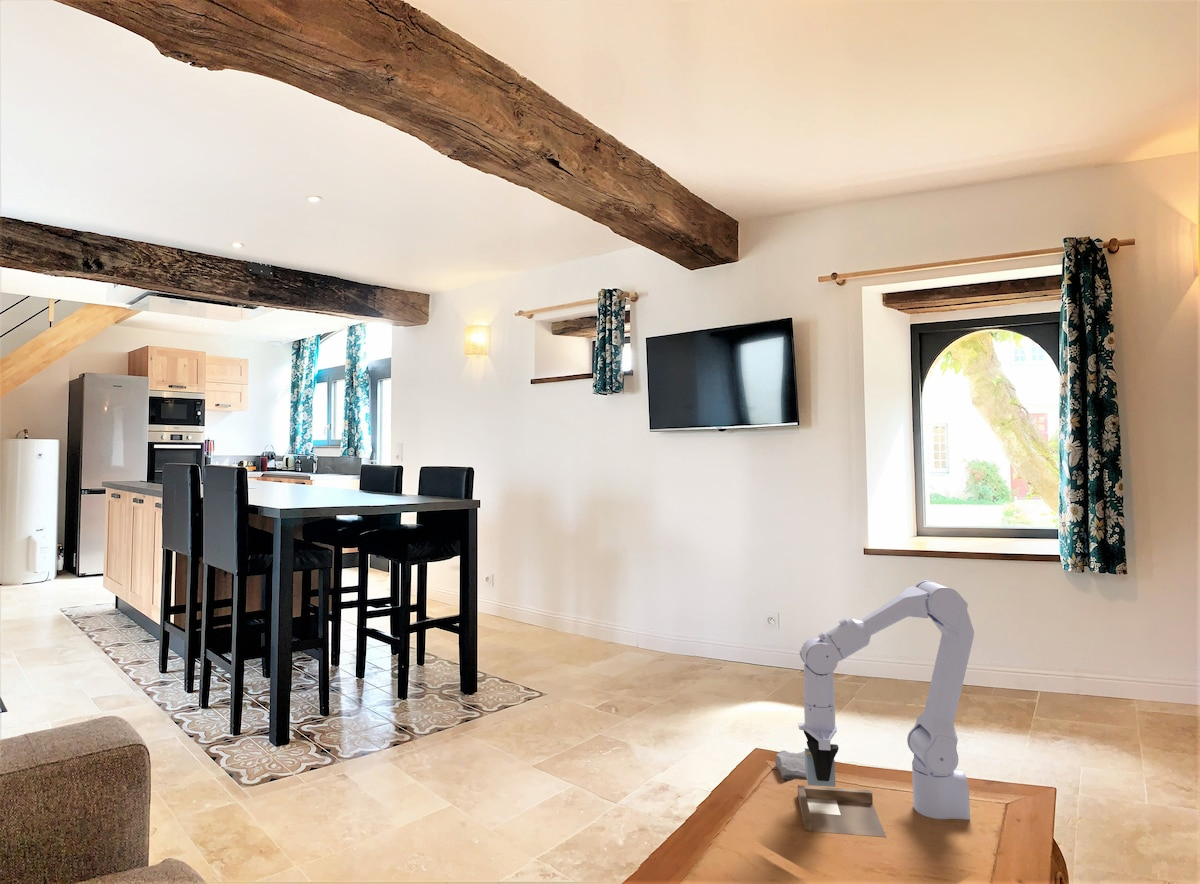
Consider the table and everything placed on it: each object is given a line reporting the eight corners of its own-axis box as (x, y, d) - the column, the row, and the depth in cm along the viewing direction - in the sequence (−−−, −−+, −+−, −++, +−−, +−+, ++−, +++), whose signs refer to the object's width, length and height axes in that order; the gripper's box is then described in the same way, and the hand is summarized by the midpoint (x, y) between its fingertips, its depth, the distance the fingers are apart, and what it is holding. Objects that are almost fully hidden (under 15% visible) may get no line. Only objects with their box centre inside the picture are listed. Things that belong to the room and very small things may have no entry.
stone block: (839, 793, 149) (828, 764, 159) (839, 772, 148) (827, 744, 158) (782, 794, 150) (774, 765, 160) (781, 773, 149) (773, 745, 159)
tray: (871, 806, 139) (871, 790, 139) (886, 843, 125) (886, 825, 125) (798, 801, 141) (797, 785, 141) (804, 837, 127) (804, 819, 128)
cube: (831, 775, 139) (831, 749, 139) (835, 786, 134) (834, 759, 134) (805, 774, 139) (804, 747, 140) (808, 785, 135) (807, 757, 135)
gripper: (795, 690, 145) (796, 757, 144) (801, 714, 131) (803, 789, 130) (830, 692, 144) (832, 759, 143) (841, 716, 129) (843, 791, 129)
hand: (821, 774), depth 137 cm, fingers closed on cube, 5 cm apart
